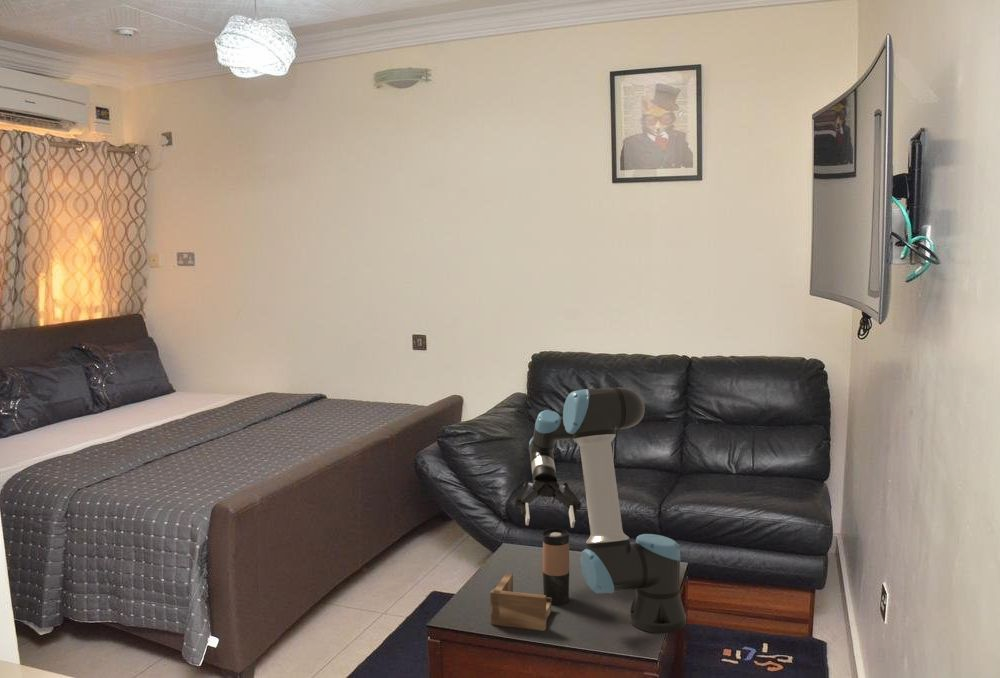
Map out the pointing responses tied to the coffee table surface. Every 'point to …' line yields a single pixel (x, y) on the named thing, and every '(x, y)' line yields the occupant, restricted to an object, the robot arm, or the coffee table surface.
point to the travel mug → (556, 565)
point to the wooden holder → (518, 607)
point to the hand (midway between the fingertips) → (550, 523)
